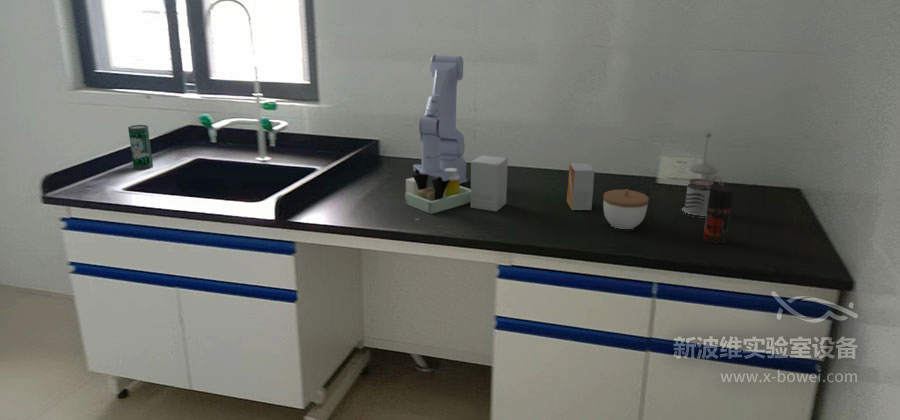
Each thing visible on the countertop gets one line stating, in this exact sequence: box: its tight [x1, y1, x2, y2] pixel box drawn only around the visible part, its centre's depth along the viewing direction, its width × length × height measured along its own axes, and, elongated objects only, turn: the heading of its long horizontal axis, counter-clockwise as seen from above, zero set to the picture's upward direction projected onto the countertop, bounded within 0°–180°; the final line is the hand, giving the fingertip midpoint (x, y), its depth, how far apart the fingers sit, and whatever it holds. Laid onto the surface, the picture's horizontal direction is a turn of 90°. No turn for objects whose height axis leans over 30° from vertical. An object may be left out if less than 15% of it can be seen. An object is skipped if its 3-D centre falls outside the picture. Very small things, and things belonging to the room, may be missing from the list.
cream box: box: [405, 177, 418, 196], centre depth 226 cm, size 4×4×5 cm
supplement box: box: [470, 154, 509, 212], centre depth 214 cm, size 9×9×15 cm
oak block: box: [418, 186, 435, 201], centre depth 215 cm, size 5×5×5 cm
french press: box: [681, 132, 724, 216], centre depth 209 cm, size 10×12×25 cm
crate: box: [404, 185, 471, 215], centre depth 218 cm, size 18×12×4 cm
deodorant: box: [702, 184, 735, 242], centre depth 190 cm, size 6×6×15 cm
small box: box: [566, 162, 596, 212], centre depth 215 cm, size 8×6×13 cm
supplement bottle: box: [443, 168, 461, 198], centre depth 219 cm, size 6×6×10 cm
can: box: [127, 124, 154, 171], centre depth 249 cm, size 6×6×15 cm
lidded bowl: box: [602, 188, 650, 230], centre depth 200 cm, size 13×13×11 cm
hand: (430, 197), depth 216 cm, fingers open, 7 cm apart
